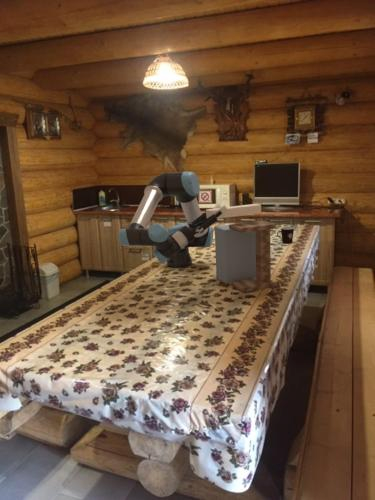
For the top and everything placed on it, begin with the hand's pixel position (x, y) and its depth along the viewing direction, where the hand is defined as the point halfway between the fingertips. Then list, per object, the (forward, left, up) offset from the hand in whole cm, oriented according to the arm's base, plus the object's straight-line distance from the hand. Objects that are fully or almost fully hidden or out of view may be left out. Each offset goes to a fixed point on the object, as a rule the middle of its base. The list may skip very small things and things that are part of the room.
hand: (223, 207), depth 194 cm
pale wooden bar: (+5, +1, -5) cm, 7 cm away
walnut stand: (+13, -2, -39) cm, 41 cm away
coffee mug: (+56, +83, -39) cm, 107 cm away
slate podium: (+8, +12, -39) cm, 41 cm away
